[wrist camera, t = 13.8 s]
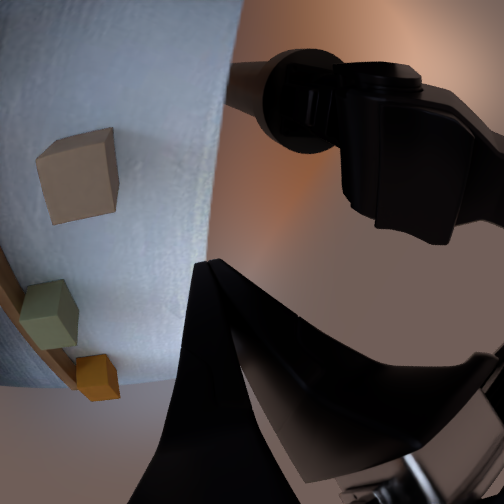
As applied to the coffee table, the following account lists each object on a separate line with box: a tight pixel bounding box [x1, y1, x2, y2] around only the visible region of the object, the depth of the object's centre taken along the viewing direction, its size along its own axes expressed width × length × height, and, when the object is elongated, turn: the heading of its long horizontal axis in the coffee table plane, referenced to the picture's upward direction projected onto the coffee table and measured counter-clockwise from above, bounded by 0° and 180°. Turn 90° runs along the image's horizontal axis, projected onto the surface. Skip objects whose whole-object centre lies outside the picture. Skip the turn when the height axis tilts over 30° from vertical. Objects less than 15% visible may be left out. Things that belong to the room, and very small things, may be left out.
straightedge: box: [0, 246, 78, 390], centre depth 15 cm, size 2×30×2 cm, turn 176°
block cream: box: [35, 127, 120, 225], centre depth 13 cm, size 4×4×4 cm
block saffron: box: [76, 354, 120, 402], centre depth 24 cm, size 4×4×4 cm
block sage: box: [19, 279, 79, 350], centre depth 17 cm, size 4×4×4 cm
